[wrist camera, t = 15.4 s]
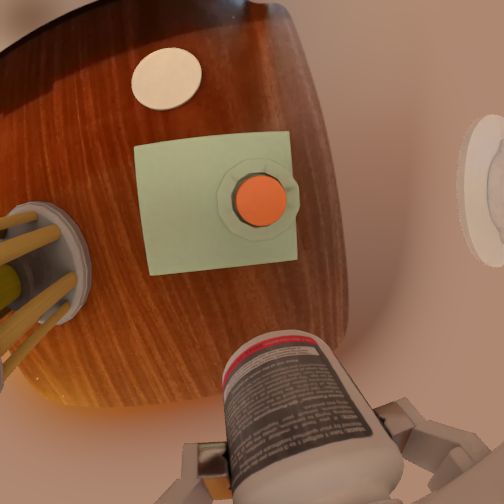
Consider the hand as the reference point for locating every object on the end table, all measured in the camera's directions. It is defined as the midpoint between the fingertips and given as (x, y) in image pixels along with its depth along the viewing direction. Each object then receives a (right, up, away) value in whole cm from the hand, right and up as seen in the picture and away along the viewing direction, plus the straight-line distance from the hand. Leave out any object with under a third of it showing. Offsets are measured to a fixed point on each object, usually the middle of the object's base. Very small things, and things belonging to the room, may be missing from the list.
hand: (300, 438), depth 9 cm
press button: (-1, +11, +15) cm, 19 cm away
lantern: (-26, +5, +18) cm, 31 cm away
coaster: (-10, +24, +15) cm, 30 cm away
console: (-5, +11, +18) cm, 22 cm away
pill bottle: (0, +1, +4) cm, 4 cm away
